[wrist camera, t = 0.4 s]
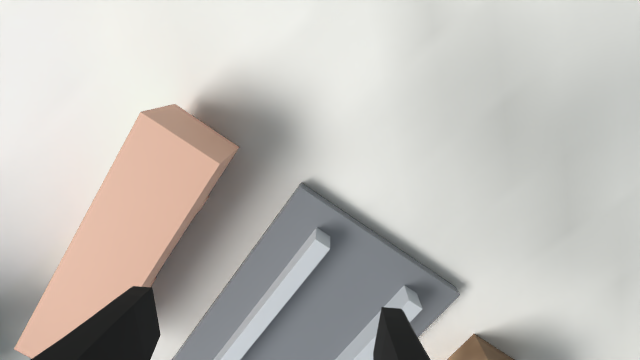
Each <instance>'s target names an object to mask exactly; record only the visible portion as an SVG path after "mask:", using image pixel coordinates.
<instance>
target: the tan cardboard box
mask: <svg viewBox="0 0 640 360" xmlns="http://www.w3.org/2000/svg"><path fill="white" fill-rule="evenodd" d="M447 360H514V359H513V358H511V357H509V356H508V355H506V354H505V353H503V352H502V351H500V350H499V349H497V348H496V347H494V346H492V345H491V344H489V343H488V342H486V341H485V340H483V339H482V338H480V337H478V336H477V335H475V334H473V335H472V336H471V337H470V338H469V339H468V340H467V341H466V342H465V343H464V344H463V345H462V346H461V347H460V348H459V349H458V350H457V351H456V352H455V353H453V354H452V355H451V356H450V357H449V358H448V359H447Z"/></svg>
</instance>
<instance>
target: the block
mask: <svg viewBox="0 0 640 360" xmlns="http://www.w3.org/2000/svg"><path fill="white" fill-rule="evenodd" d="M238 148H239V147H238V146H237V145H235V144H234V143H232V142H231V141H229V140H228V139H226V138H225V137H223V136H222V135H220V134H219V133H217V132H216V131H214V130H213V129H211V128H210V127H208V126H207V125H205V124H204V123H202V122H201V121H199V120H198V119H196V118H195V117H194V116H192V115H191V114H189V113H188V112H186V111H185V110H183V109H182V108H180V107H179V106H177V105H176V104H173V105H168V106H164V107H160V108H155V109H151V110H147V111H142V112H140V114H139V116H138V118H137V120H136V121H135V123H134V125H133V127H132V129H131V131H130V133H129V134H128V136H127V138H126V140H125V142H124V144H123V146H122V148H121V149H120V151H119V153H118V155H117V157H116V159H115V161H114V163H113V164H112V166H111V168H110V170H109V172H108V174H107V176H106V178H105V179H104V181H103V183H102V185H101V187H100V189H99V191H98V192H97V194H96V196H95V198H94V200H93V202H92V204H91V206H90V207H89V209H88V211H87V213H86V215H85V217H84V219H83V221H82V222H81V224H80V226H79V228H78V230H77V232H76V234H75V235H74V237H73V239H72V241H71V243H70V245H69V247H68V249H67V250H66V252H65V254H64V256H63V258H62V260H61V262H60V264H59V265H58V267H57V269H56V271H55V273H54V275H53V277H52V279H51V280H50V282H49V284H48V286H47V288H46V290H45V292H44V293H43V295H42V297H41V299H40V301H39V303H38V305H37V307H36V308H35V310H34V312H33V314H32V316H31V318H30V320H29V322H28V323H27V325H26V327H25V329H24V331H23V333H22V335H21V337H20V338H19V340H18V342H17V344H16V346H15V348H14V350H16V351H18V352H20V353H22V354H24V355H26V356H28V357H30V358H34V357H35V356H37V355H38V354H40V353H41V352H43V351H44V350H45V349H47V348H48V347H50V346H51V345H53V344H54V343H56V342H57V341H59V340H60V339H62V338H63V337H64V336H66V335H67V334H69V333H70V332H71V331H73V330H74V329H75V328H77V327H78V326H79V325H81V324H82V323H84V322H85V321H86V320H88V319H89V318H90V317H92V316H93V315H94V314H96V313H97V312H98V311H100V310H101V309H102V308H104V307H105V306H106V305H108V304H109V303H110V302H112V301H113V300H114V299H116V298H117V297H118V296H120V295H121V294H122V293H124V292H125V291H127V290H128V289H129V288H131V287H132V286H139V287H151V286H152V284H153V283H154V281H155V279H156V278H157V277H156V275H157V274H158V272H159V271H160V269H161V268H162V266H163V264H164V263H165V261H166V260H167V258H168V257H169V255H170V254H171V252H172V251H173V249H174V247H175V246H176V244H177V243H178V241H179V240H180V238H181V237H182V235H183V234H184V232H185V230H186V229H187V227H188V226H189V224H190V223H191V221H192V220H193V218H194V217H195V215H196V214H197V213H198V212H199V211H200V210H201V209H202V207H203V205H204V204H205V202H206V201H207V199H208V198H209V196H208V195H209V193H210V192H211V190H212V189H213V187H214V186H215V184H216V183H217V181H218V179H219V178H220V176H221V175H222V173H223V172H224V170H225V169H226V167H227V165H228V164H229V162H230V161H231V159H232V158H233V156H234V155H235V153H236V152H237V150H238Z"/></svg>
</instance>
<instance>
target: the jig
mask: <svg viewBox="0 0 640 360" xmlns="http://www.w3.org/2000/svg"><path fill="white" fill-rule="evenodd" d="M459 295H460V294H459V292H458V290H457V288H456V287H455V286H453V285H452V284H450V283H449V282H447V281H446V280H445V279H443V278H442V277H440V276H439V275H437V274H436V273H434V272H433V271H431V270H430V269H428V268H427V267H425V266H424V265H422V264H421V263H419V262H418V261H416V260H415V259H413V258H412V257H410V256H409V255H408V254H406V253H405V252H403V251H402V250H400V249H399V248H397V247H396V246H394V245H393V244H391V243H390V242H388V241H387V240H385V239H384V238H382V237H381V236H379V235H378V234H376V233H375V232H373V231H372V230H371V229H369V228H368V227H366V226H365V225H363V224H362V223H360V222H359V221H357V220H356V219H354V218H353V217H351V216H350V215H348V214H347V213H345V212H344V211H342V210H341V209H339V208H338V207H336V206H335V205H333V204H332V203H331V202H329V201H328V200H326V199H325V198H323V197H322V196H320V195H319V194H317V193H316V192H314V191H313V190H311V189H310V188H308V187H307V186H305V185H304V184H302V183H301V184H300V185H299V186H298V188H297V189H296V190H295V192H294V193H293V195H292V196H291V197H290V199H289V200H288V201H287V203H286V204H285V205H284V207H283V208H282V210H281V211H280V212H279V214H278V215H277V216H276V218H275V219H274V221H273V222H272V223H271V225H270V226H269V227H268V229H267V230H266V231H265V233H264V234H263V236H262V237H261V238H260V240H259V241H258V242H257V244H256V245H255V247H254V248H253V249H252V251H251V252H250V253H249V255H248V256H247V257H246V259H245V260H244V262H243V263H242V264H241V266H240V267H239V268H238V270H237V271H236V273H235V274H234V275H233V277H232V278H231V279H230V281H229V282H228V284H227V285H226V286H225V288H224V289H223V290H222V292H221V293H220V294H219V296H218V297H217V299H216V300H215V301H214V303H213V304H212V305H211V307H210V308H209V310H208V311H207V312H206V314H205V315H204V316H203V318H202V319H201V320H200V322H199V323H198V325H197V326H196V327H195V329H194V330H193V331H192V333H191V334H190V336H189V337H188V338H187V340H186V341H185V342H184V344H183V345H182V347H181V348H180V349H179V351H178V352H177V353H176V355H175V356H174V357H173V359H172V360H373V351H374V345H375V340H376V335H377V329H378V324H379V318H380V313H381V307H388V308H400V309H402V310H403V311H404V313H405V315H406V317H407V319H408V321H409V322H410V324H411V326H412V328H413V330H414V332H415V334H416V335H417V337H419V336H420V335H421V333H422V332H423V331H424V330H425V329H426V328H427V327H428V326H429V325H430V324H431V323H432V322H433V321H434V320H435V319H436V318H437V317H438V316H439V315H440V314H441V313H442V312H443V311H444V310H445V309H446V308H447V307H448V306H449V305H450V304H451V303H452V302H453V301H454V300H455V299H456V298H457V297H458V296H459Z"/></svg>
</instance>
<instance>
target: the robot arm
mask: <svg viewBox="0 0 640 360" xmlns="http://www.w3.org/2000/svg"><path fill="white" fill-rule="evenodd" d="M159 337H160V330H159V324H158V318H157V313H156V307H155V301H154V296H153V290H152V288H151V287H139V286H132V287H131V288H129V289H128V290H127V291H125V292H124V293H122V294H121V295H120V296H118V297H117V298H116V299H114V300H113V301H112V302H110V303H109V304H108V305H106V306H105V307H104V308H102V309H101V310H100V311H98V312H97V313H96V314H94V315H93V316H92V317H90V318H89V319H88V320H86V321H85V322H84V323H82V324H81V325H79V326H78V327H77V328H75V329H74V330H73V331H71V332H70V333H69V334H67V335H66V336H64V337H63V338H62V339H60V340H59V341H57V342H56V343H54V344H53V345H51V346H50V347H48V348H47V349H45V350H44V351H43V352H41V353H40V354H38V355H37V356H35V357H34V358H32V359H31V360H150V359H151V356H152V354H153V352H154V349H155V347H156V344H157V342H158V339H159ZM373 360H430V358H429V356H428V355H427V353H426V351H425V350H424V348H423V346H422V344H421V343H420V341H419V339H418V337H417V335H416V334H415V332H414V330H413V328H412V326H411V324H410V322H409V321H408V319H407V317H406V315H405V313H404V311H403V310H402V309H400V308H388V307H381V313H380V318H379V324H378V329H377V335H376V340H375V345H374V351H373Z"/></svg>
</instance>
